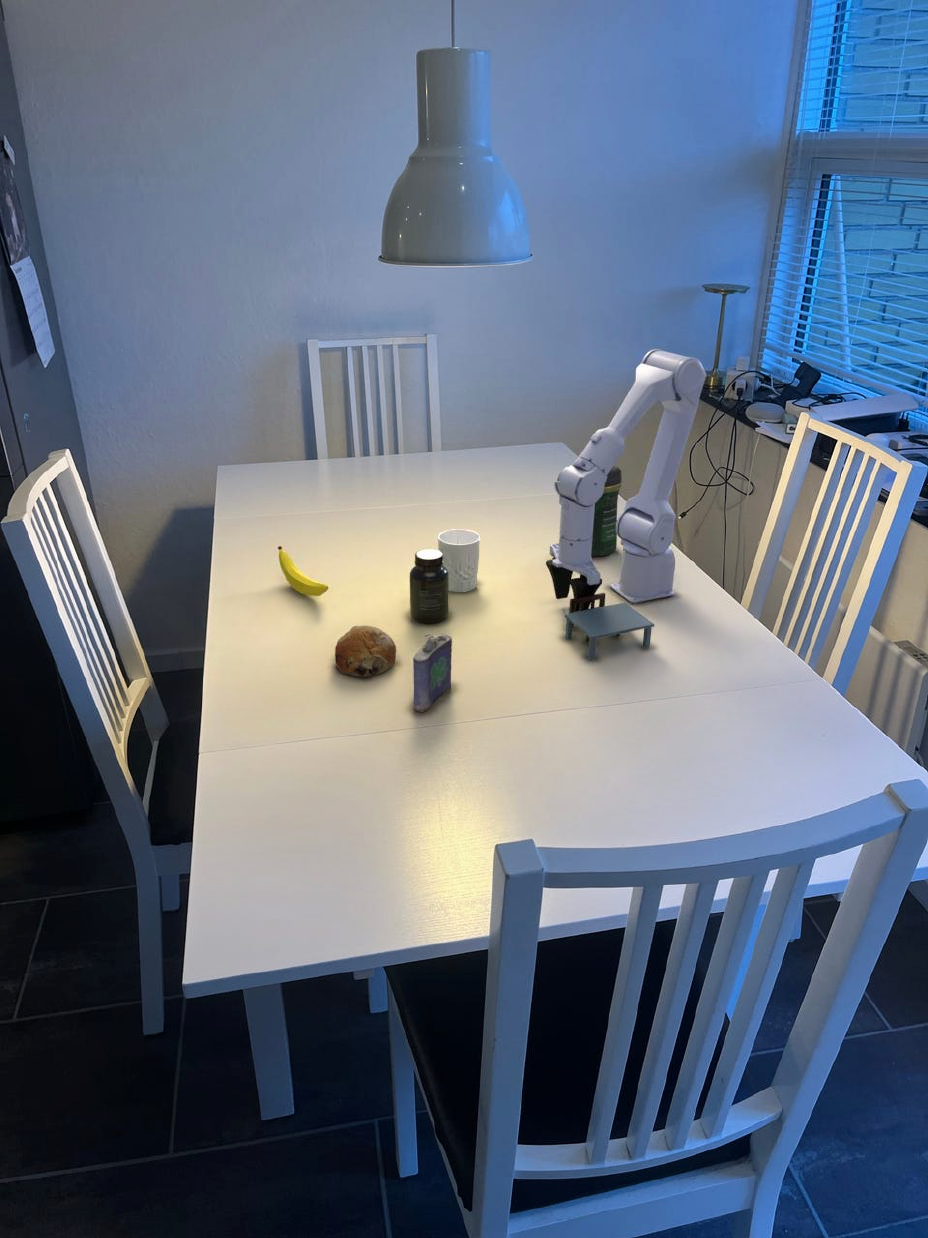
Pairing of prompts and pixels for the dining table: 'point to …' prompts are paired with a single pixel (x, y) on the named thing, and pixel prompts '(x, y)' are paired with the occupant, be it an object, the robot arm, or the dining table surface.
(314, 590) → the banana
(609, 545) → the coffee jar
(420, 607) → the supplement bottle
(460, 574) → the white cup
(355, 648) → the bread roll
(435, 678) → the flask
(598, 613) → the table
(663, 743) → the dining table surface
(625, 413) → the robot arm
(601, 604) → the chair
